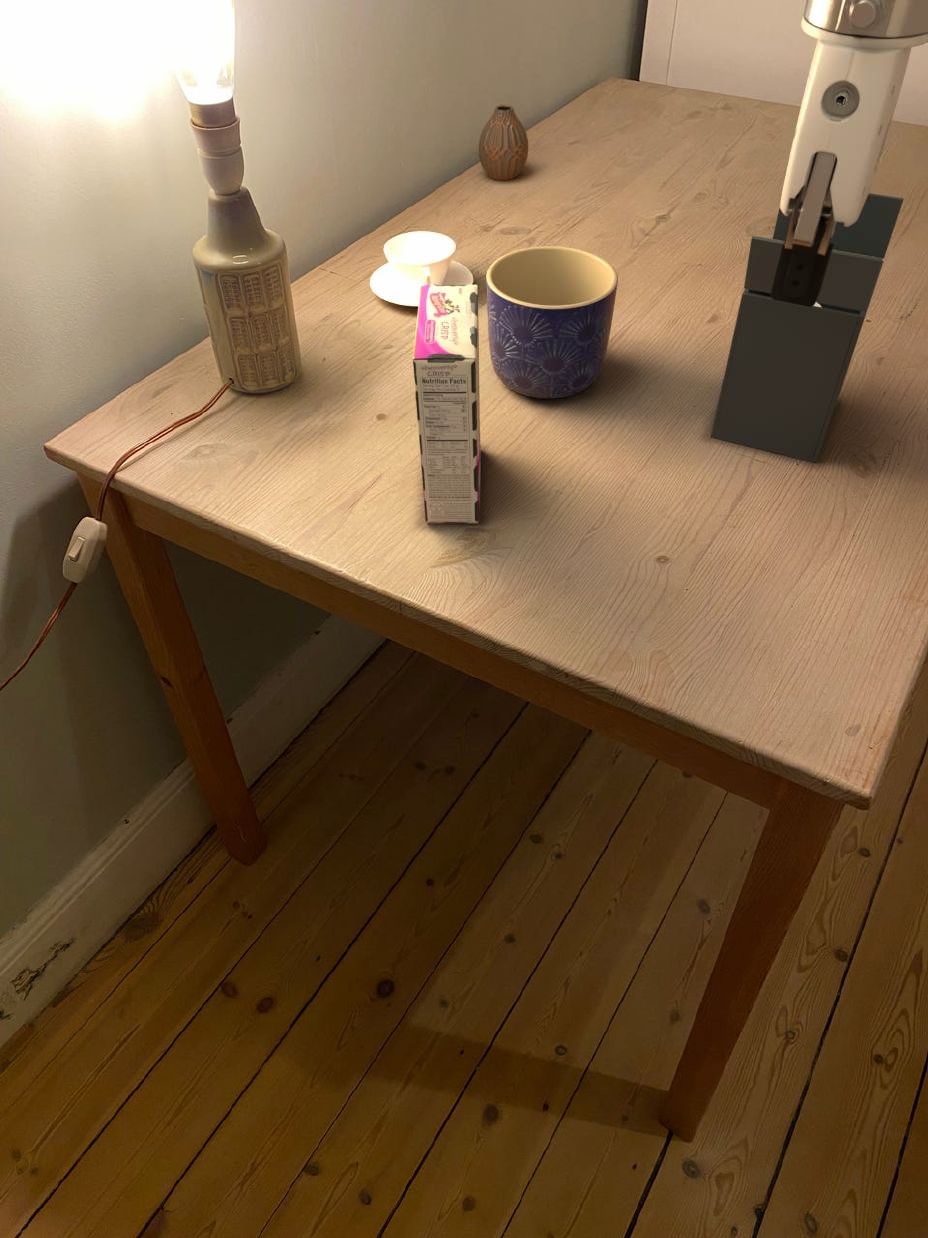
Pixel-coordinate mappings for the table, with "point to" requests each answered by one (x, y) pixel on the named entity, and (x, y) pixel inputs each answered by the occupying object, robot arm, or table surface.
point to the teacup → (417, 267)
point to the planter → (549, 319)
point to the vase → (503, 144)
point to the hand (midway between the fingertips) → (793, 297)
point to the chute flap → (842, 281)
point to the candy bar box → (448, 402)
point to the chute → (796, 352)
